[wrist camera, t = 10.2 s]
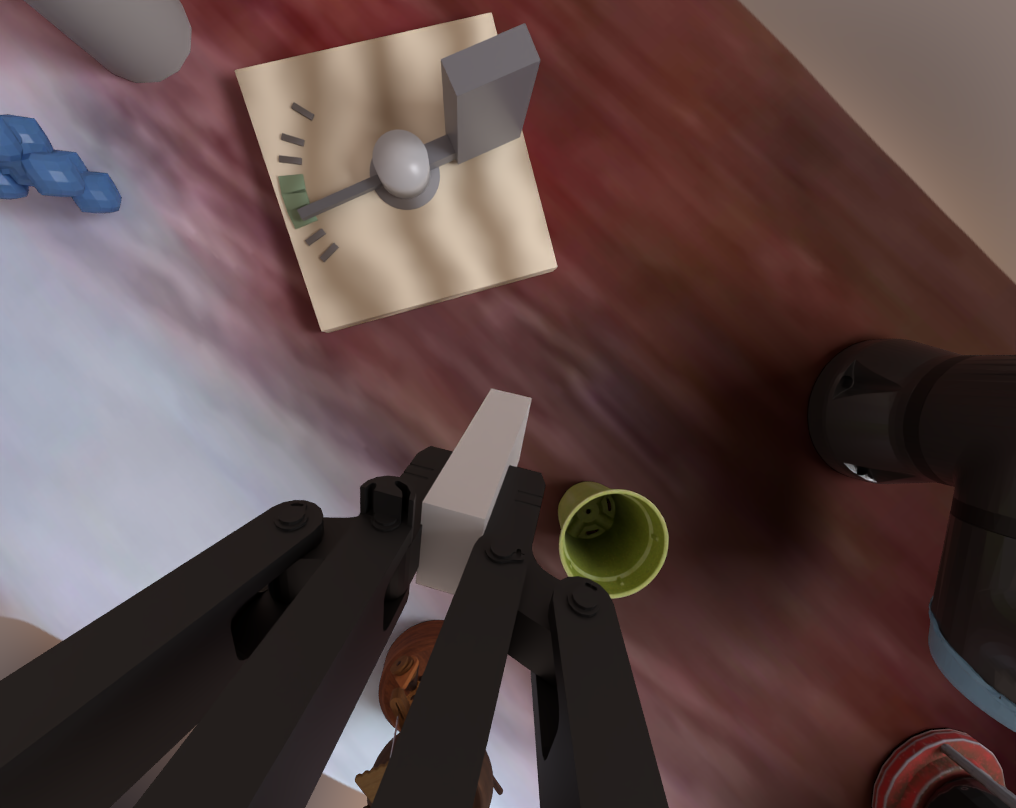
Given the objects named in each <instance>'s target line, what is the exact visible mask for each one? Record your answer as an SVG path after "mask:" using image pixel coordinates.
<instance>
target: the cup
mask: <svg viewBox="0 0 1016 808" xmlns="http://www.w3.org/2000/svg"><path fill="white" fill-rule="evenodd" d="M24 1H25V2H26V3H28V4H29V5H30V6H31V7H32V8H34V9H35V10H36V11H37V12H38V13H40V14H41V15H42V16H43V17H45V18H46V19H47V20H48V21H49V22H51V23H52V24H53V25H54V26H55V27H57V28H58V29H59V30H60V31H62V32H63V33H64V34H65V35H66V36H68V37H69V38H70V39H71V40H72V41H74V42H75V43H76V44H77V45H79V46H80V47H81V48H82V49H83V50H85V51H86V52H87V53H88V54H89V55H91V56H92V57H93V58H94V59H96V60H97V61H98V62H99V63H100V64H102V65H103V66H104V67H105V68H106V69H108V70H109V71H110V72H111V73H113V74H115V75H117V76H120V77H122V78H125V79H127V80H130V81H132V82H135V83H147V82H160V81H162V80H164V79H166V78H167V77H169V76H171V75H172V74H174V73H176V72H178V71H179V70H180V68H181V66H182V65H183V63H184V61H185V60H186V58H187V56H188V55H189V53H190V47H191V26H190V23H189V21H188V18H187V16H186V13H185V11H184V8H183V6H182V4H181V3H180V1H179V0H24Z"/></svg>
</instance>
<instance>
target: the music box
mask: <svg viewBox="0 0 1016 808" xmlns="http://www.w3.org/2000/svg"><path fill="white" fill-rule="evenodd" d="M443 622H444V620H433V621H427V622H423V623H420V624H417V625H415V626H413V627H411V628H409V629H408V630H406V631H405V632H404V633H402V634H401V635H400V636H399V637H398V638H397V639H396V640H395V642H394V643H393V644H392V646H391V648H390V649H389V651H388V654H387V656H386V660H385V664H384V668H383V672H382V676H381V680H380V684H379V702H380V706H381V709H382V712H383V714H384V716H385V717H386V719H387V720H388V722H389V723H390V724H391V725H392V726H393V727H394V728H395V733H394V738H392V739H391V740H390V741H389V743H388V744H387V745H386V746H385V747H384V749H383V750H382V751H381V753H380V754H379V756H378V758H377V760H376V762H375V764H374V766H373V768H372V769H371V770H370V771H368V770H367V771H365V772H364V773H363V774H357V775H356V778H355V782H356V783H357V785H358V786H359V787H360V789H361V790H362V791H363V792H364V794H365V795H366V796H367V803H368V805H367V806H365V807H363V808H371V805H372V803H373V800H374V798H375V795H376V793H377V790H378V788H379V785H380V782H381V780H382V777H383V775H384V772H385V770H386V767H387V765H388V762H389V760H390V757H391V755H392V752H393V749H394V747H395V744H396V742H397V739H398V737H399V734H400V733H399V734H397V735H396V731H397V730H398V731H399V732H401V729H402V727H403V724H404V721H405V719H406V716H407V714H408V711H409V709H410V706H411V704H412V701H413V699H414V696H415V693H416V691H417V688H418V686H419V683H420V681H421V678H422V676H423V673H424V671H425V668H426V666H427V663H428V660H429V658H430V655H431V653H432V650H433V648H434V645H435V643H436V640H437V638H438V635H439V632H440V630H441V627H442V625H443ZM493 787H494V789H495V790H496V792H497V793H498V794H499V795H501V794H502V793H503V789H502V788H501V786H500V785H499V783H498V782H497V780H496V779H495V778H494V776H493V771H492V766H491V762H490V759H489V756H488V754H487V752H486V750H485V755H484V759H483V764H482V768H481V772H480V777H479V781H478V786H477V790H476V794H475V799H474V803H473V807H472V808H489V807H490V803H491V799H492V794H493Z"/></svg>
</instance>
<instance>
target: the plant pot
mask: <svg viewBox="0 0 1016 808" xmlns="http://www.w3.org/2000/svg"><path fill="white" fill-rule="evenodd" d="M606 499H608V500H609V501H610V503H611V511H608V505H607V500H606ZM588 509H589V510H590V511H591V512H590V513H589V514H586V510H588ZM558 518H559V523H560V527H561V532H560V537H559V554H560V559H561V562H562V565H563V567H564V569H565V571H566V573H567V575H568V576H569V577H573V576H580V577H584V578H588V579H591V580H592V581H594V582H596V583H598V584H599V585H601V586H602V587H603V588H604V589H605V590H606V592H607V593H608V594H609V595H610V598H621V597H625V596H628V595H631V594H634V593H636V592H638V591H639V590H641V589H642V588H644V587H645V586H646V585H648V584H649V583H650V582H651V581H652V580H653V579H654V578H655V576H656V575H657V574H658V572H659V571H660V569H661V568H662V566H663V563H664V561H665V559H666V556H667V551H668V530H667V527H666V523H665V521H664V518H663V516H662V515H661V513H660V512H659V510H658V509H657V508H656V507H655V505H654V504H653V503H651V502H650V501H649V500H648V499H646V498H645V497H643V496H641V495H640V494H637V493H635V492H632V491H629V490H623V489H610V488H608V487H606V486H604V485H601V484H599V483H595V482H581V483H578V484H576V485H574V486H572V487H571V488H569V489H568V490H567V491H566V493H565V494H564V496H563V497H562V499H561V501H560V503H559V506H558ZM596 529H598V532H596V533H593V534H586V532H587V531H593V530H596Z"/></svg>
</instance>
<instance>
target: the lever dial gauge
mask: <svg viewBox="0 0 1016 808" xmlns="http://www.w3.org/2000/svg"><path fill="white" fill-rule="evenodd" d="M539 63H540V58H539V56H538V54H537V51H536V49H535V46H534V44H533V41H532V39H531V36H530V34H529V32H528V29H527V27H526V24H525V23H524V24H522V25H519V26H517V27H515V28H512V29H510V30H508V31H505V32H503V33H501V34H498V35H496V36H494V37H491V38H489V39H487V40H484V41H482V42H480V43H477V44H475V45H473V46H470V47H468V48H466V49H463V50H461V51H459V52H456V53H454V54H452V55H449V56H447V57H445V58H442V59H441V72H442V87H443V102H444V117H445V132H446V135H444V136H442V137H440V138H437V139H435V140H433V141H431V142H428V143H426V144H423V143H422V141H421V140H420V139H419V138H418V137H417V136H416V135H414V134H413V133H411V132H408V131H405V130H391V131H389V132H386V133H385V134H383V135H382V136H381V137H380V138H379V139H378V140H377V142H376V143H375V146H374V149H373V154H372V159H373V164H374V167H375V170H376V172H377V175H374V176H372V177H370V178H367V179H365V180H363V181H361V182H358V183H356V184H354V185H352V186H349V187H347V188H345V189H343V190H340V191H338V192H336V193H333V194H331V195H329V196H327V197H324V198H322V199H320V200H318V201H315V202H313V203H311V204H308V205H306V206H304V207H302V208H299V209H297V211H298V213H299V215H300V217H301V219H302V220H303V221H305V220H308V219H310V218H312V217H314V216H317V215H319V214H321V213H323V212H326V211H328V210H330V209H332V208H335V207H337V206H339V205H341V204H344V203H346V202H348V201H350V200H353V199H355V198H357V197H360V196H362V195H364V194H366V193H369V192H371V191H373V190H375V189H378V188H380V187H382V186H384V188H385V189H386V190H387V191H388V192H389V193H390V194H392V195H393V196H396V197H398V198H402V199H410V198H414V197H417V196H418V195H420V194H421V193H422V192H423V191H424V190H425V189H426V188H427V186H428V184H429V181H430V171H431V170H433V169H435V168H437V167H440V166H442V165H444V164H446V163H449V162H451V161H453V160H455V159H456V161H457V164H458V165H459V164H461V163H463V162H465V161H468V160H470V159H472V158H474V157H477V156H479V155H481V154H483V153H486V152H488V151H490V150H492V149H495V148H497V147H499V146H501V145H504V144H506V143H508V142H510V141H513V140H515V139H517V138H519V137H520V135H521V131H522V128H523V124H524V120H525V116H526V112H527V109H528V105H529V101H530V97H531V94H532V90H533V86H534V82H535V78H536V75H537V71H538V67H539Z"/></svg>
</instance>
